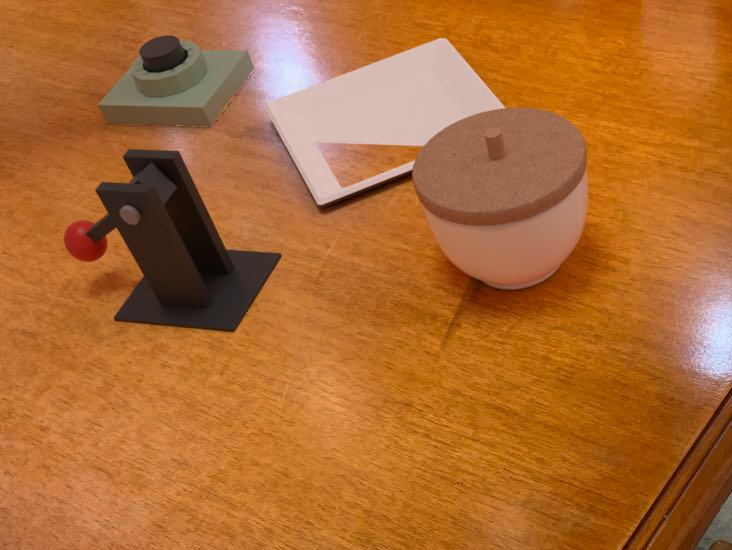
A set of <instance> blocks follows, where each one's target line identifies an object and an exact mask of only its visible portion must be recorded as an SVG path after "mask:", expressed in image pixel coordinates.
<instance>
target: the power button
mask: <svg viewBox="0 0 732 550" xmlns="http://www.w3.org/2000/svg"><path fill="white" fill-rule="evenodd" d="M180 41H181V40H180V39H179V37H177V36H175V35H172V34H171V35H169V34H167V35H159V36H157V37H154V38H151V39H149V40H147V41H146V42H145V43H143V44H142V45H141V46H140V47H139V52H138V53H139V55H140V56H141V58H142V60H143V62H144V64H145V66H146V68H147V71H148V72H149V73H161V72H164V71H168V70H172V69H173V68H175V67H177V66H179V65H180V64H182V63H183V62H184V61H185V60H186V59H187V57H186V54H185V52H184V50H183V48H182V45H181V43H180Z"/></svg>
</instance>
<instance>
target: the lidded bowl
mask: <svg viewBox="0 0 732 550" xmlns="http://www.w3.org/2000/svg"><path fill="white" fill-rule="evenodd" d="M587 155H588V154H587V145H586V141H585V138H584V136H583V134H582V132H581V131H580V129H579V128H578V127H577V126H576V125H575V124H573V122H572V121H571V120H569V119H567V118H566V117H564V116H562V115H559V114H557V113H555V112H553V111H549V110H545V109H541V108H534V107H505V108H503V109H496V110H491V111H486V112H482V113H478V114H475V115H472V116H469V117H467V118H464V119H462V120H459V121H457V122H455V123H453V124H451V125H450V126H448V127H446V128H444V129H443V130H441V131H440V132H438V133H437V134H436V135H435V136H433V137H432V138H431V139H430V140H429V141H428V142H427V143H426V144H425V145H424V146H422V148H421V149H420V151H419V152H418V154H417V156H416V158H415V163H414V165H413V170H412V173H411V177H412V178H411V179H412V184H413V188H414V191H415V194H416V196H417V199H418V200H419V202H420V205H421V209H422V211H423V215H424V217H425V221H426V223H427V225H428V227H429V230H430V232H431V234H432V237H433V239H434V240H435V242H436V244H437V245H438V247H439V249H440V251H442V253H443V254H444V255H445V257H446V258H447V259H448V260H449V261H450V262H451V263H452V264H453V265H454V266H455V268H457V269H458V270H460V271H461V272H463V273H464V274H466V275H468V276H469V277H472V278H474V279H475V280H479V281H481V282H482V283H483V284H485V285H487V286H488V287H491V288H495V289H499V290H507V291H508V290H509V291H513V290H514V291H515V290H521V289H527V288H530V287H533V286H536V285H539V284H540V283H543V282H545V281H546V280H548V279H549V278H551V277H552V276H553V275H554V274H555V273H556V272H557V271H559V268H560V267H561V265H562V264H563V263H564V262H565V260H567V258H568V257H569V256H570V255H571V254H572V252H573V251H574V250H575V247H577V244H578V243H579V240H580V238H581V236H582V233H583V231H584V229H585V224H586V220H587V214H588V207H589V181H588V179H589V178H588V168H587V165H588V157H587Z"/></svg>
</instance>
